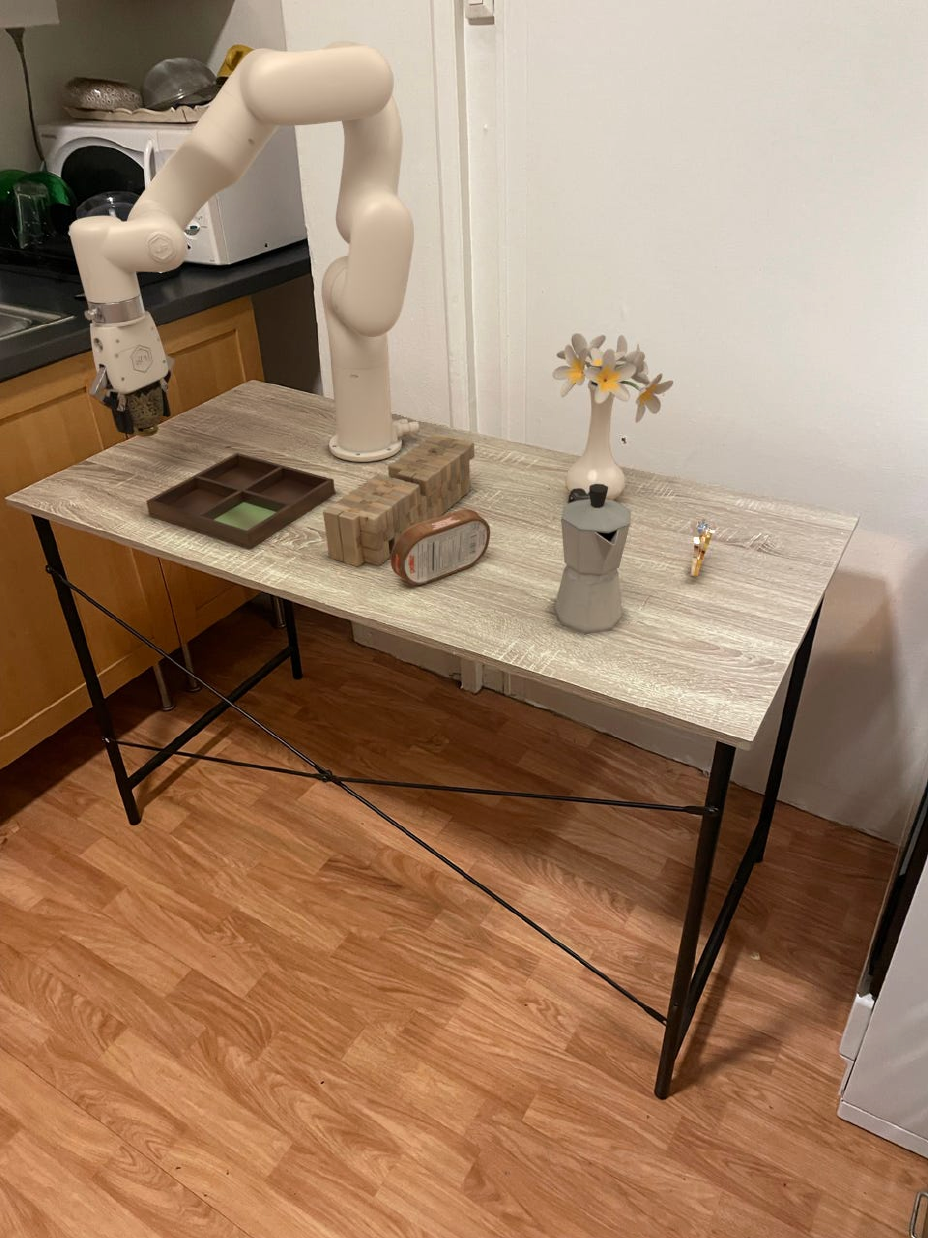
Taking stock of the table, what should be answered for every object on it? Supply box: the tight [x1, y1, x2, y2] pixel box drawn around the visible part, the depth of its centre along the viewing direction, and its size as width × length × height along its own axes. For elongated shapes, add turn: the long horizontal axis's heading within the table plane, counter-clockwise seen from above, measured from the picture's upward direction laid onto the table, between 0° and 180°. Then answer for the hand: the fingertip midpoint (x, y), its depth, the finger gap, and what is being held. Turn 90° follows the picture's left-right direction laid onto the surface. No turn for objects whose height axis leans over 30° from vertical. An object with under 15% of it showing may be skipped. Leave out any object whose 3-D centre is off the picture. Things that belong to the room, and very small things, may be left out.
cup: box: [114, 380, 164, 438], centre depth 143 cm, size 8×7×8 cm
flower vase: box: [551, 332, 674, 501], centre depth 136 cm, size 13×18×25 cm
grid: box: [145, 452, 336, 550], centre depth 142 cm, size 20×20×3 cm
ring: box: [690, 518, 716, 578], centre depth 123 cm, size 7×3×8 cm, turn 159°
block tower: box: [322, 433, 475, 567], centre depth 136 cm, size 8×8×29 cm
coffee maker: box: [553, 484, 632, 634], centre depth 114 cm, size 15×9×18 cm, turn 12°
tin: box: [390, 508, 491, 586], centre depth 124 cm, size 15×3×8 cm, turn 126°
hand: (144, 422), depth 144 cm, fingers closed on cup, 7 cm apart
